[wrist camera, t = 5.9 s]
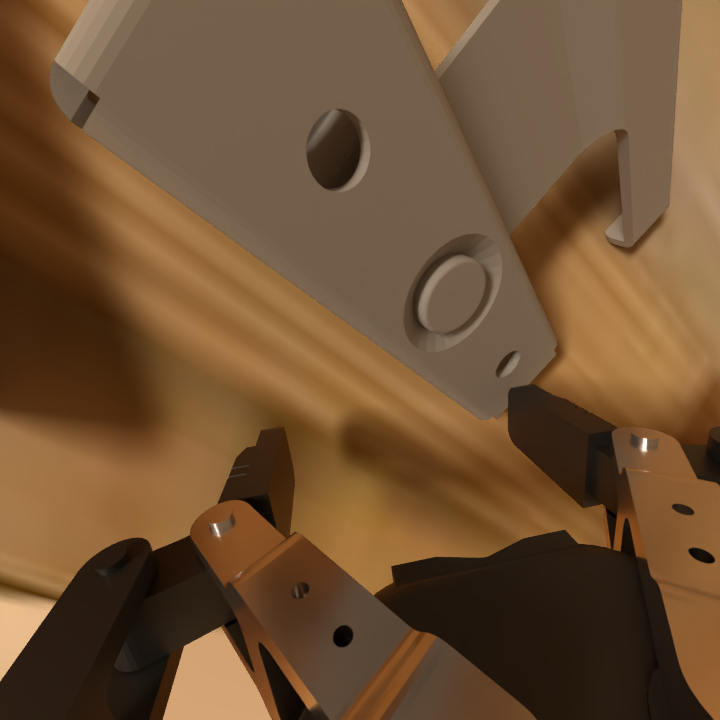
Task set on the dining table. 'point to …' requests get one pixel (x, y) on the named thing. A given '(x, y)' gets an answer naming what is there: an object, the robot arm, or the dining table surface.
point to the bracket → (386, 150)
